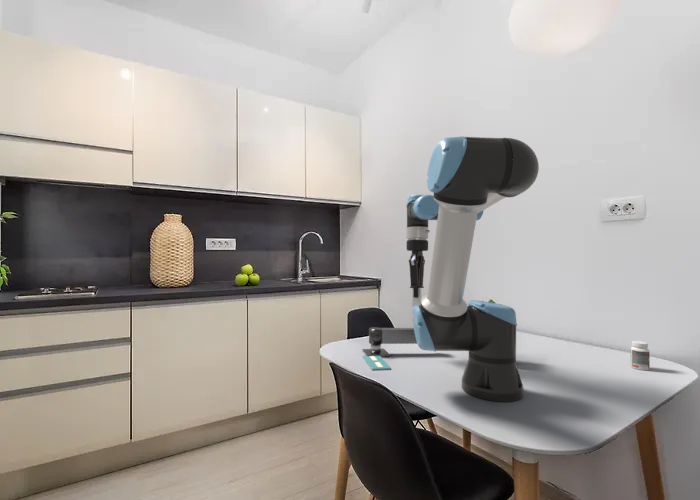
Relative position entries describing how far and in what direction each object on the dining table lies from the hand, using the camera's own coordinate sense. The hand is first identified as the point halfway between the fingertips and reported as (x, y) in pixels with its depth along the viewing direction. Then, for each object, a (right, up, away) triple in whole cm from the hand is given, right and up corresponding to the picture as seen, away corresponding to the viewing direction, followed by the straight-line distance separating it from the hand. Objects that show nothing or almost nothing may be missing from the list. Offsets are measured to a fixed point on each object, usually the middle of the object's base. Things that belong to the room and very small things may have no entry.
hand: (416, 306), depth 126 cm
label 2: (-14, -17, -12) cm, 25 cm away
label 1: (-15, -17, -5) cm, 24 cm away
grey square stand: (-14, -17, +3) cm, 23 cm away
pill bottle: (+70, -19, -10) cm, 73 cm away
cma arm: (-5, -13, +3) cm, 15 cm away
